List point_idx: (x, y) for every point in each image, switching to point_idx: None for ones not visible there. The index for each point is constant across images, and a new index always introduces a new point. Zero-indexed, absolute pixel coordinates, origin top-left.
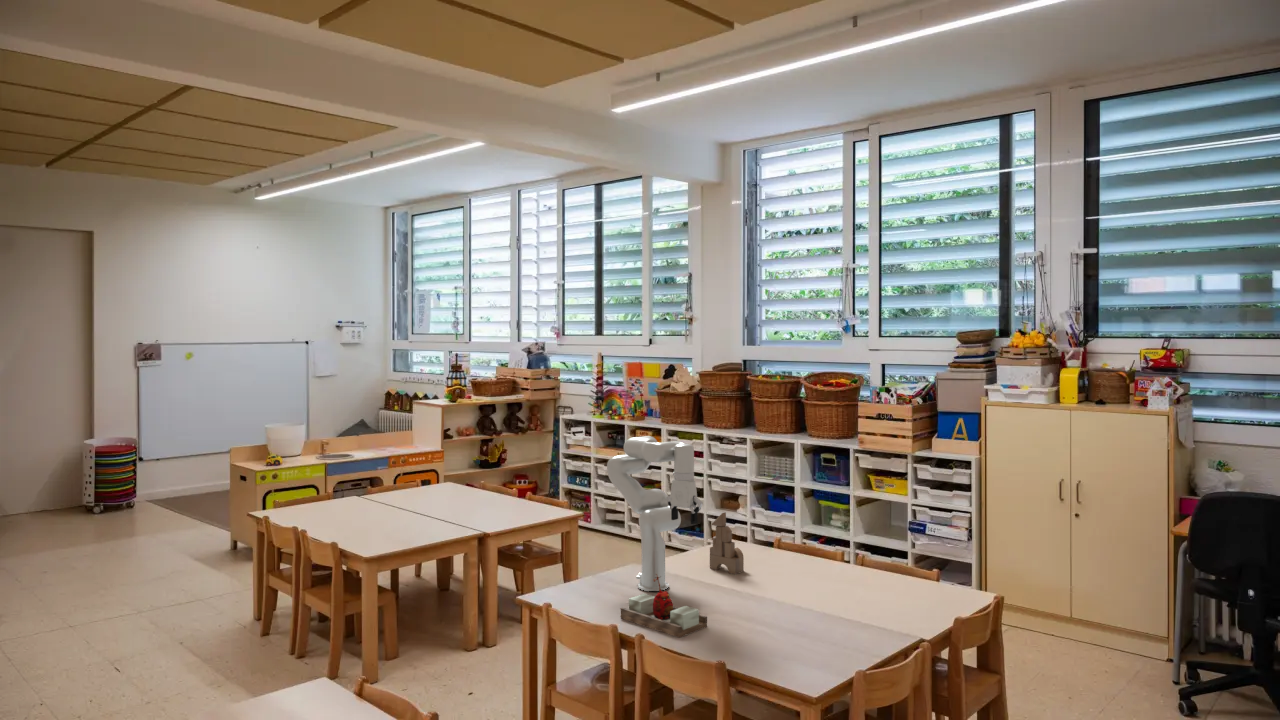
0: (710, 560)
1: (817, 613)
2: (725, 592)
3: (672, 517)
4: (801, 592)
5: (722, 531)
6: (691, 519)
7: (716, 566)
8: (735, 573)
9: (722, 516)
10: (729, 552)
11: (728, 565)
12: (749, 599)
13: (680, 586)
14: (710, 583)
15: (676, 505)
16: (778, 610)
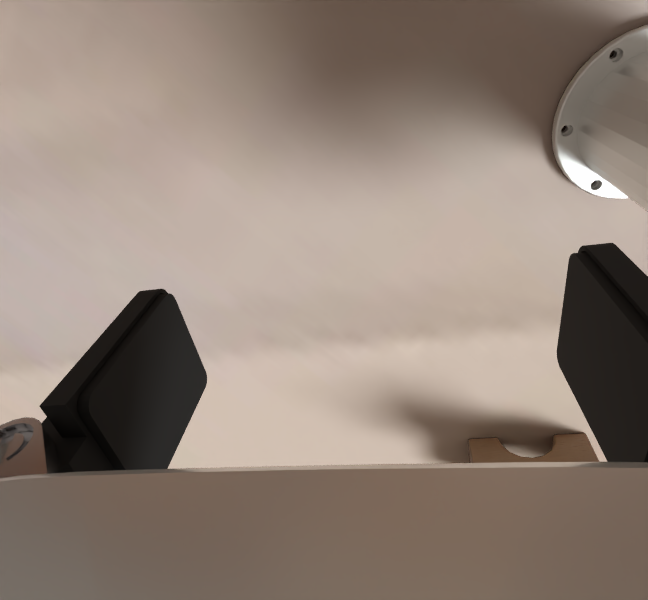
0: (593, 457)
1: (43, 351)
2: (348, 301)
3: (602, 268)
4: (215, 436)
5: None
6: (113, 327)
7: (556, 444)
8: (468, 441)
9: None
10: None
11: (503, 458)
12: (239, 306)
13: (534, 226)
14: (464, 331)
15: (465, 478)
16: (105, 296)
